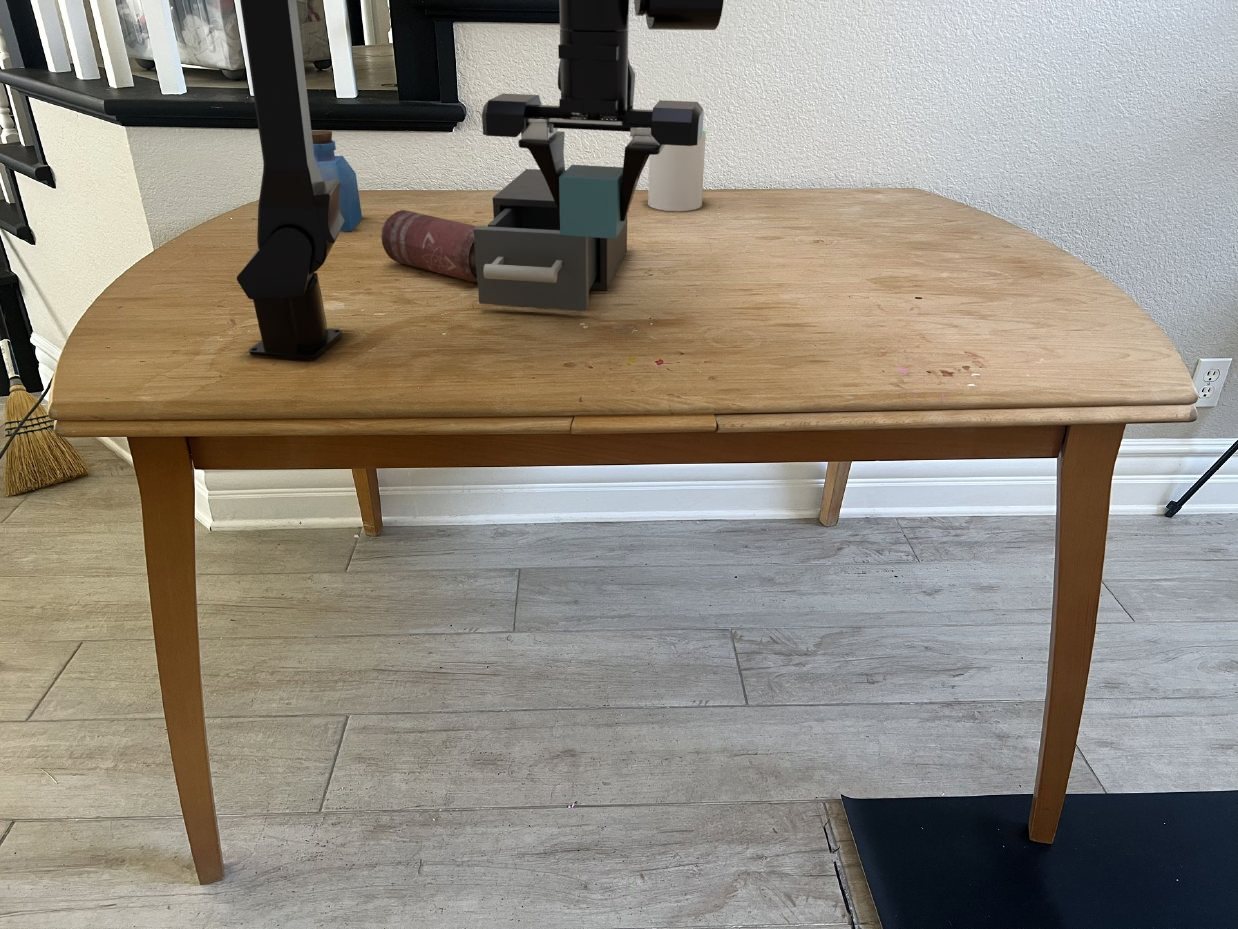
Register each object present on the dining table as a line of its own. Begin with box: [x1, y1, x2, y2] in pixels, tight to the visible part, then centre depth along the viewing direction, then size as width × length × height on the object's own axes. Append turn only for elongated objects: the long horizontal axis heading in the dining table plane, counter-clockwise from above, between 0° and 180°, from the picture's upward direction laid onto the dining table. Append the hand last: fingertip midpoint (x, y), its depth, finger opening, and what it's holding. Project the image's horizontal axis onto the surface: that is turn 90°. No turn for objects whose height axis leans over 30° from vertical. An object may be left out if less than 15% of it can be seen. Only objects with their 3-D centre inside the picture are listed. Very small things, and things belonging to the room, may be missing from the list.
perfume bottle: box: [311, 129, 363, 232], centre depth 114 cm, size 6×6×12 cm
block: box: [559, 164, 626, 239], centre depth 78 cm, size 5×5×5 cm
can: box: [380, 209, 478, 283], centre depth 99 cm, size 6×6×14 cm
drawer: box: [473, 206, 600, 312], centre depth 90 cm, size 18×11×8 cm, turn 171°
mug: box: [647, 129, 707, 212], centre depth 127 cm, size 12×8×10 cm, turn 14°
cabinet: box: [492, 168, 628, 291], centre depth 100 cm, size 15×13×10 cm
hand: (593, 218), depth 79 cm, fingers closed on block, 5 cm apart
